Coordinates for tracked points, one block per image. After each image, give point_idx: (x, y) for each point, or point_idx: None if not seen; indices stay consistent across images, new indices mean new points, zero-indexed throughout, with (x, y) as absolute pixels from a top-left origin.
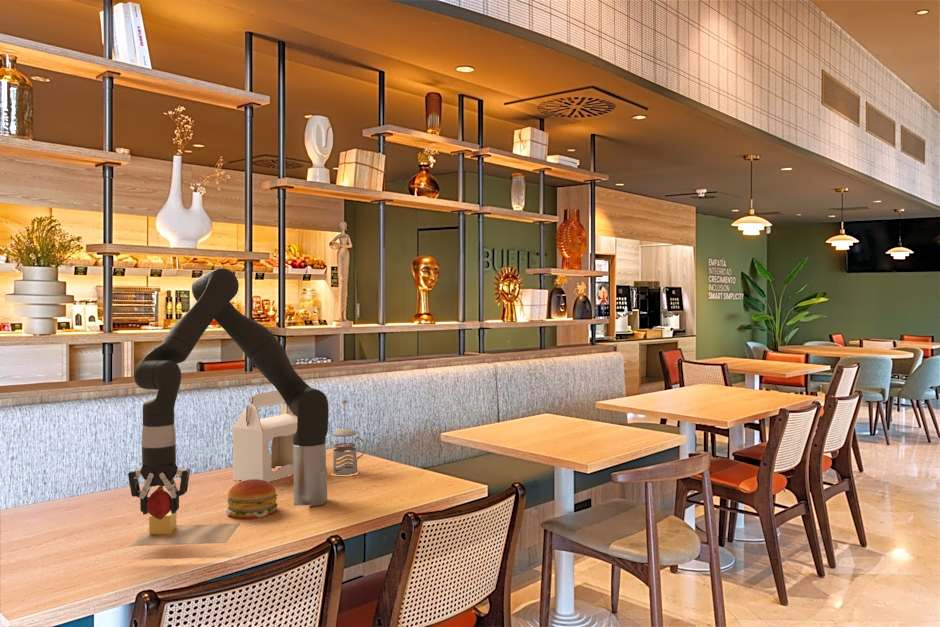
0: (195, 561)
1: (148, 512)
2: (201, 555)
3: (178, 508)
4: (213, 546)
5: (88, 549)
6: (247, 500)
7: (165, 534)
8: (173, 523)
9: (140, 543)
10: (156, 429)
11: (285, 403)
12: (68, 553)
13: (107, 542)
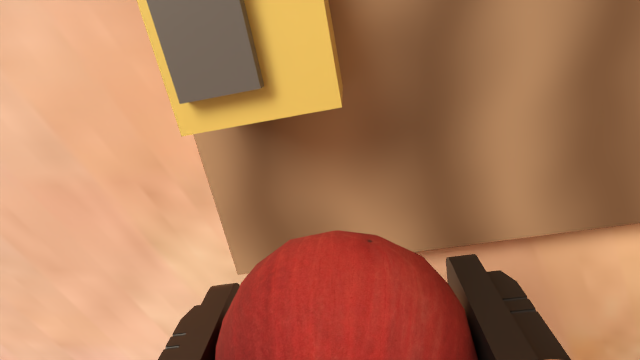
0: (585, 354)
1: (239, 286)
2: (595, 297)
3: (508, 282)
4: None
5: (53, 252)
6: None
7: None
8: (329, 15)
9: (268, 246)
10: None
11: None
12: (17, 295)
13: (56, 163)
